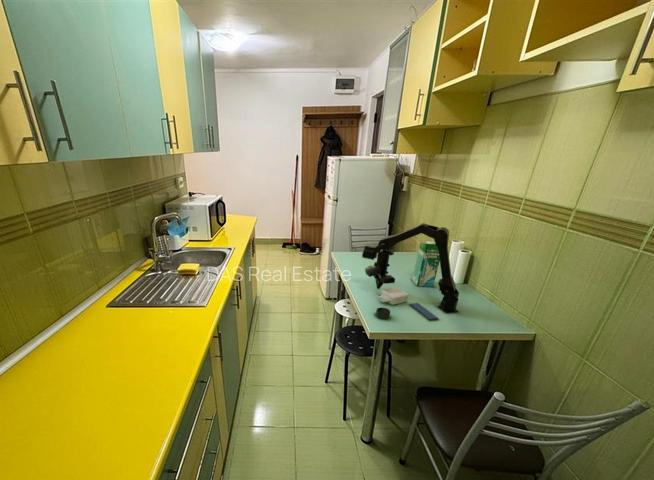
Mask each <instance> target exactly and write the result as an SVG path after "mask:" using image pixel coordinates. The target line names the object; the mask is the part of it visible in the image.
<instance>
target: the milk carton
mask: <svg viewBox="0 0 654 480" xmlns="http://www.w3.org/2000/svg"><path fill="white" fill-rule="evenodd" d="M439 265H440V259H439V251H438V248H437V246H436V244H435V241H431V240H429V241H428V240H426V243H425V242H419V247H418V251H417V256H416V259H415V265H414V270H413V273H412V274H413V275H412V279H411V280H412V282H413V283H414V285H415V286H416V287H428V288H429V287H430V288H433V287H434V285H435V282H436V278H437V274H438V269H439Z"/></svg>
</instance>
